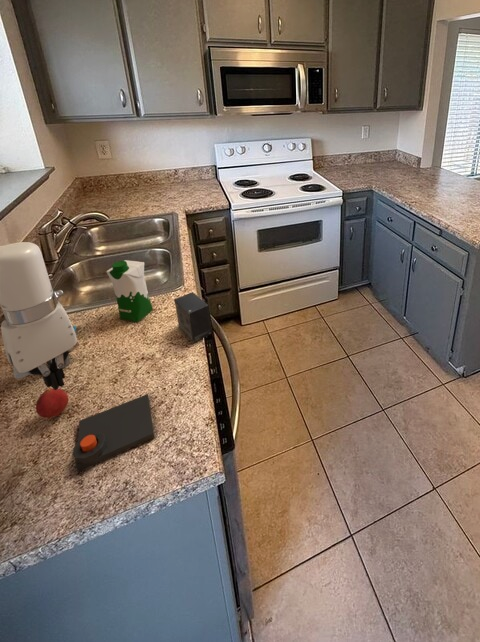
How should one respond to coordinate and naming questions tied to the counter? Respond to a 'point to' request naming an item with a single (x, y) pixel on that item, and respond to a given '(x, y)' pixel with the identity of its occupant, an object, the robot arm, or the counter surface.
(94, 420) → the scale
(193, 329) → the small box
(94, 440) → the power button
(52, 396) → the onion
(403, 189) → the counter surface
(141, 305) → the milk carton
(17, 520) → the counter surface
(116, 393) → the counter surface
